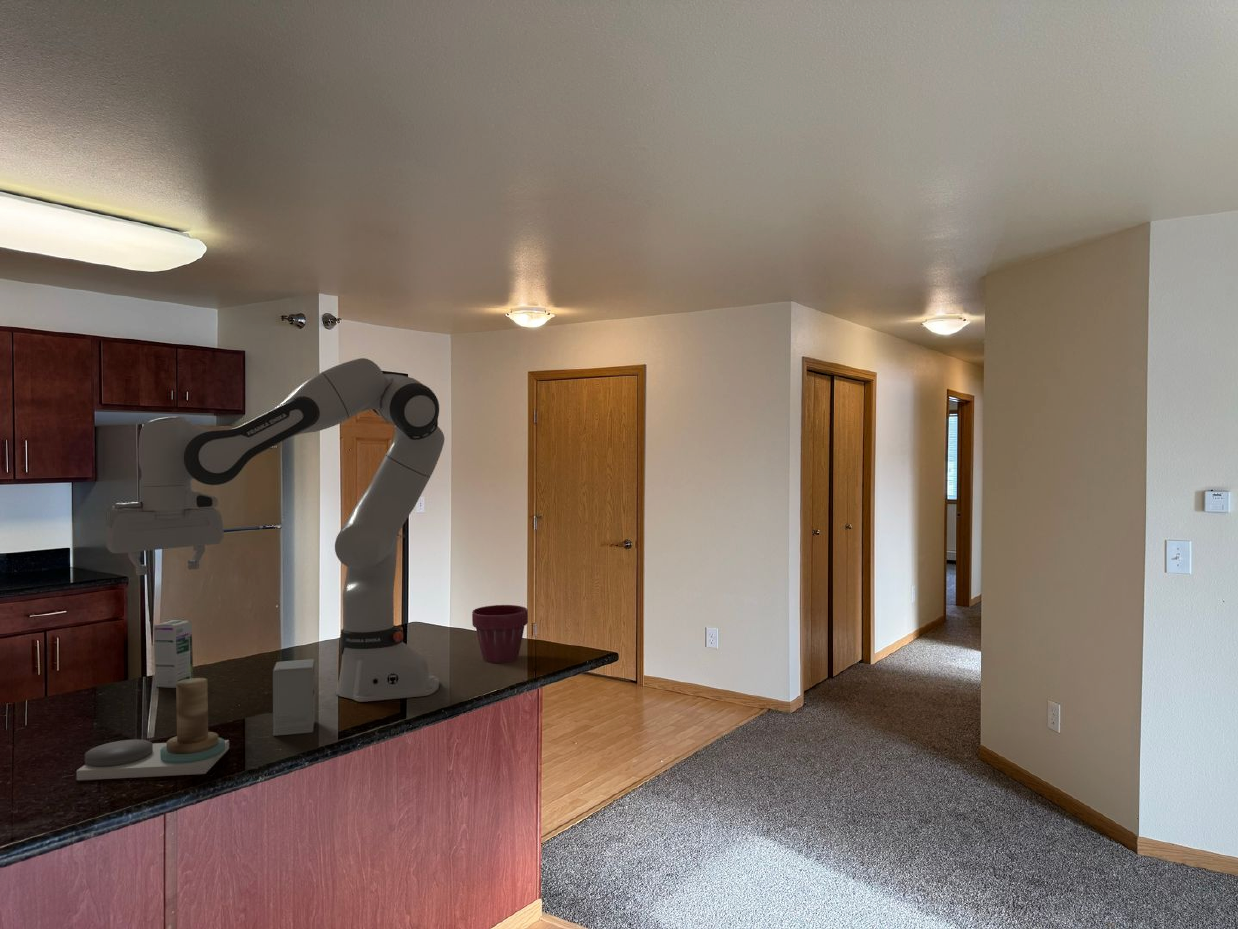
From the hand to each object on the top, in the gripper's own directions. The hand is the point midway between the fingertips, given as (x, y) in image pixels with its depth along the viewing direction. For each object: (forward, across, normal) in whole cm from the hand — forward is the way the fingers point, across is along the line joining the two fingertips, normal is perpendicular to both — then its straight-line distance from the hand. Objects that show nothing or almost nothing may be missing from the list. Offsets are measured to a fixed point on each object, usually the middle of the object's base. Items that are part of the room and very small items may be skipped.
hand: (168, 572), depth 163 cm
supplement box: (+31, +16, -17) cm, 39 cm away
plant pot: (+32, +78, -4) cm, 84 cm away
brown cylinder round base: (+28, -4, -21) cm, 35 cm away
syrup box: (+30, +12, +34) cm, 48 cm away
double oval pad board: (+31, -9, -17) cm, 36 cm away
